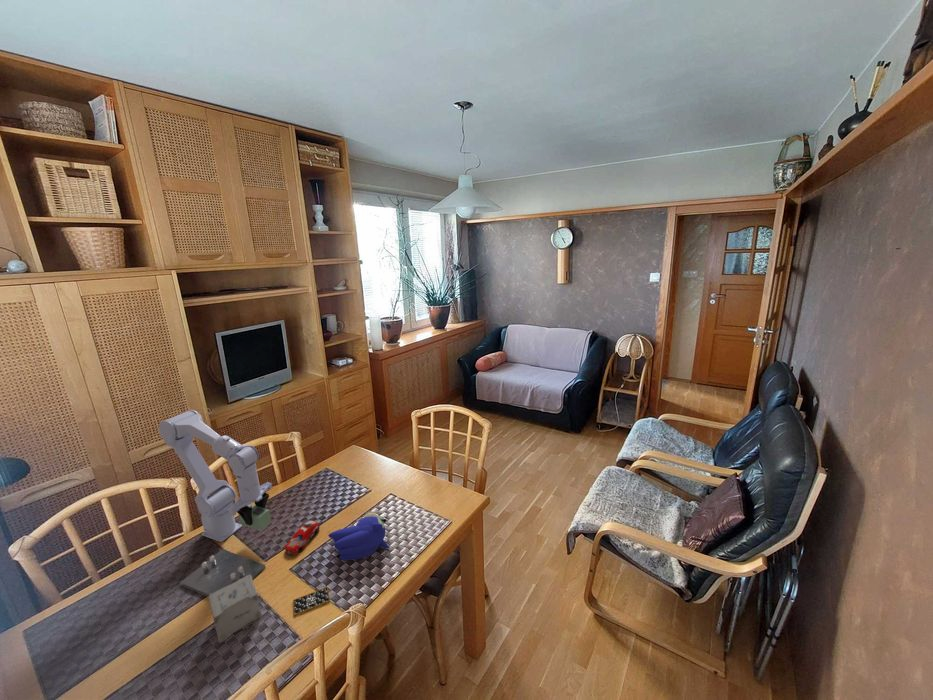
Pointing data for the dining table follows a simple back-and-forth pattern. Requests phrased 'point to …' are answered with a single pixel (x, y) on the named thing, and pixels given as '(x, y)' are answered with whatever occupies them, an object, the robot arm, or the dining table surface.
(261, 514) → the green box
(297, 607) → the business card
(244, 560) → the chassis
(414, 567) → the dining table surface
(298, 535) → the race car
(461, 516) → the dining table surface
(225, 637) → the grey box
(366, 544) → the toy
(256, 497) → the robot arm
